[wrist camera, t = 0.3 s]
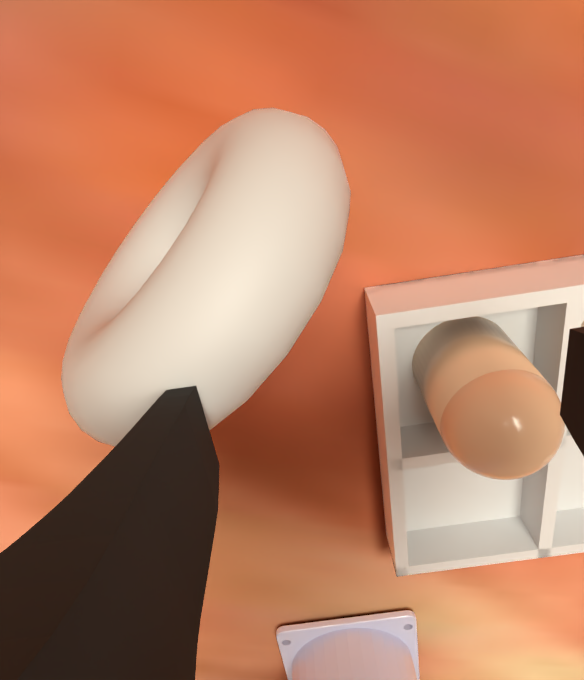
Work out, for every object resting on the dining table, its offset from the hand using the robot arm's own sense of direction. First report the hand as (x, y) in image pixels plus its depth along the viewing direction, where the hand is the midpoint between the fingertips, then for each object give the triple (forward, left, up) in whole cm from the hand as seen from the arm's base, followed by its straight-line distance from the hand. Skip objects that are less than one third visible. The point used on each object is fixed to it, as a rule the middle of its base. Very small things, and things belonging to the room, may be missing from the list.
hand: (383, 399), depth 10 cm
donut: (+2, +5, -10) cm, 11 cm away
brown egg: (-6, -5, -10) cm, 12 cm away
